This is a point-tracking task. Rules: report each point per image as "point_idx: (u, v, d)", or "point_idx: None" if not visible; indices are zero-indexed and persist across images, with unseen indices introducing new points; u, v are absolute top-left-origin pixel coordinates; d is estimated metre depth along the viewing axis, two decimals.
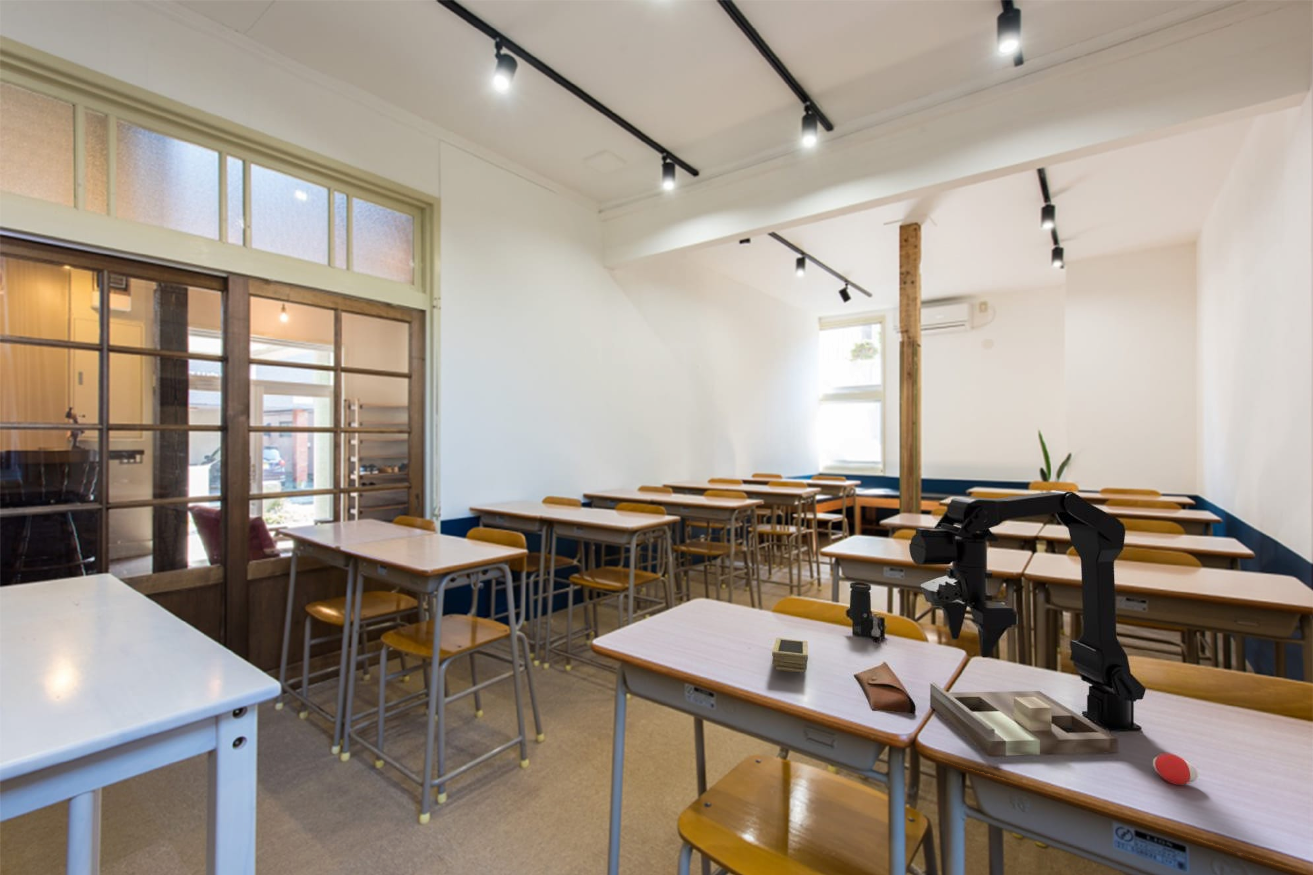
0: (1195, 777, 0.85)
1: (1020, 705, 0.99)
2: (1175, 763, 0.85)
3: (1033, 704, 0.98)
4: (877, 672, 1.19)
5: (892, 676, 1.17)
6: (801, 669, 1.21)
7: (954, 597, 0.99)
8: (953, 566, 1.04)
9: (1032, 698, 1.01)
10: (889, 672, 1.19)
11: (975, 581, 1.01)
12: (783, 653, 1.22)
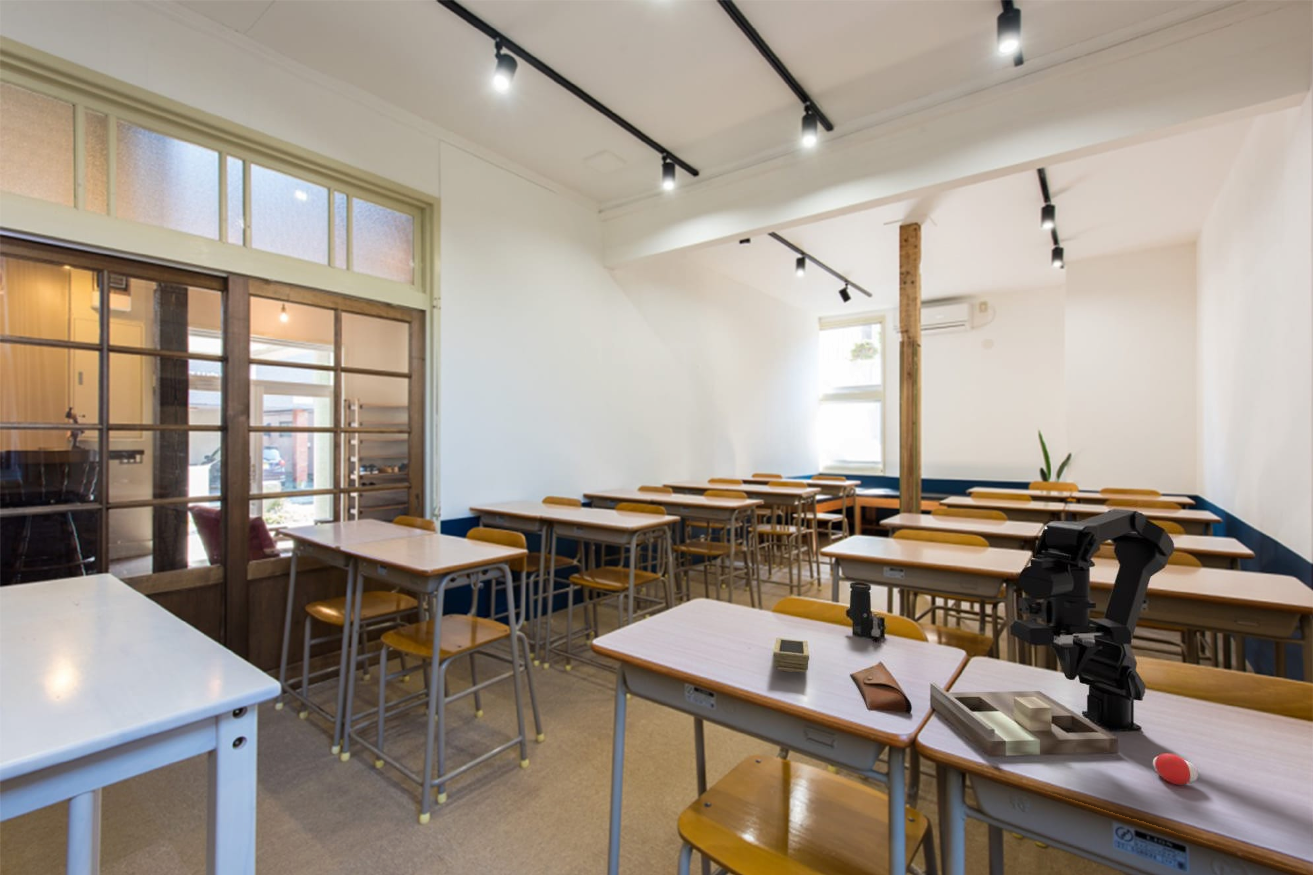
0: (1195, 777, 0.85)
1: (1020, 705, 0.99)
2: (1175, 763, 0.85)
3: (1033, 704, 0.98)
4: (873, 672, 1.19)
5: (888, 675, 1.17)
6: (802, 669, 1.21)
7: (1025, 611, 1.05)
8: None
9: (1032, 698, 1.01)
10: (885, 672, 1.19)
11: (1052, 605, 1.00)
12: (784, 653, 1.22)
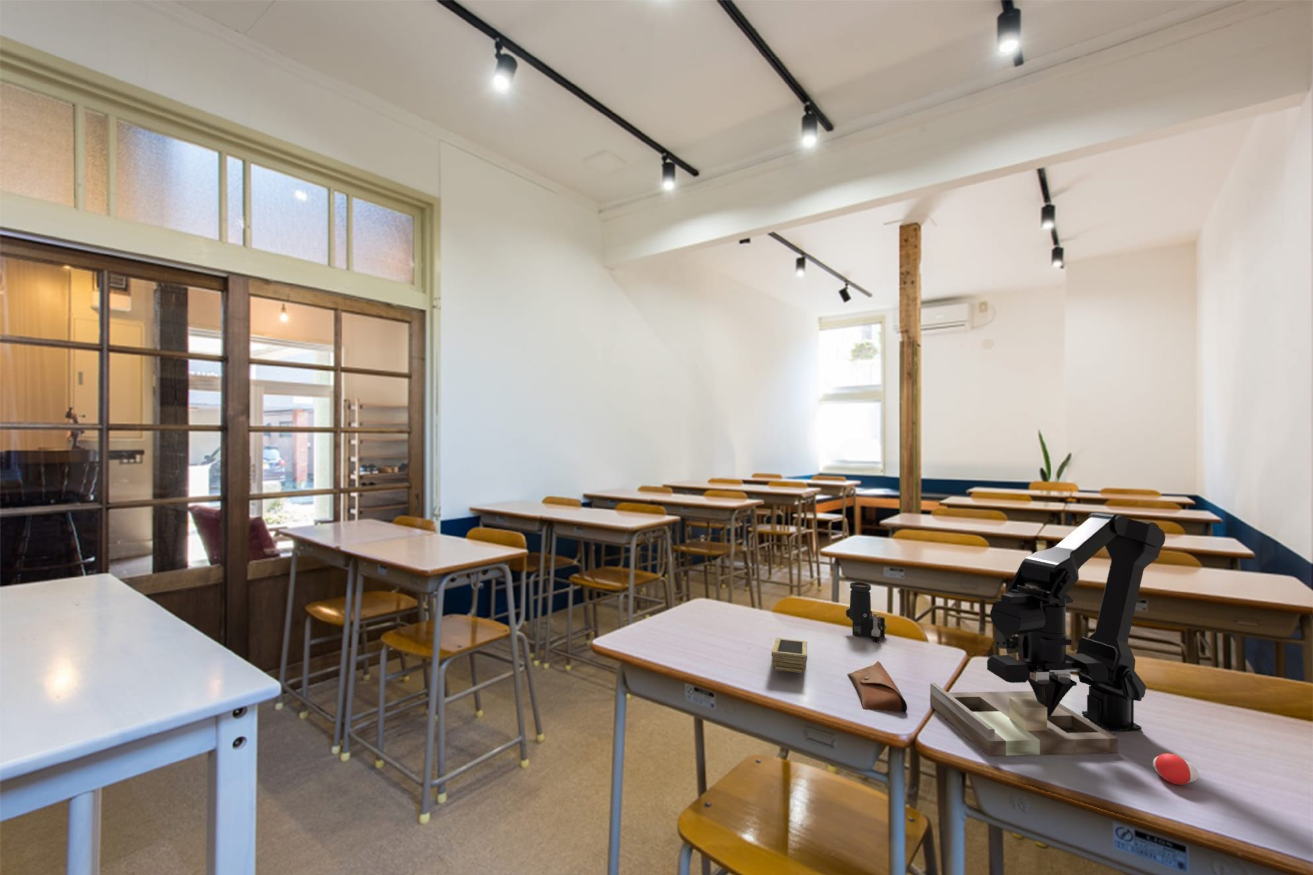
0: (1195, 777, 0.85)
1: (1016, 705, 0.99)
2: (1175, 763, 0.85)
3: (1029, 704, 0.98)
4: (870, 671, 1.20)
5: (885, 675, 1.17)
6: (800, 669, 1.21)
7: (1002, 645, 1.04)
8: None
9: (1028, 698, 1.01)
10: (882, 671, 1.19)
11: (1029, 641, 1.00)
12: (782, 653, 1.22)
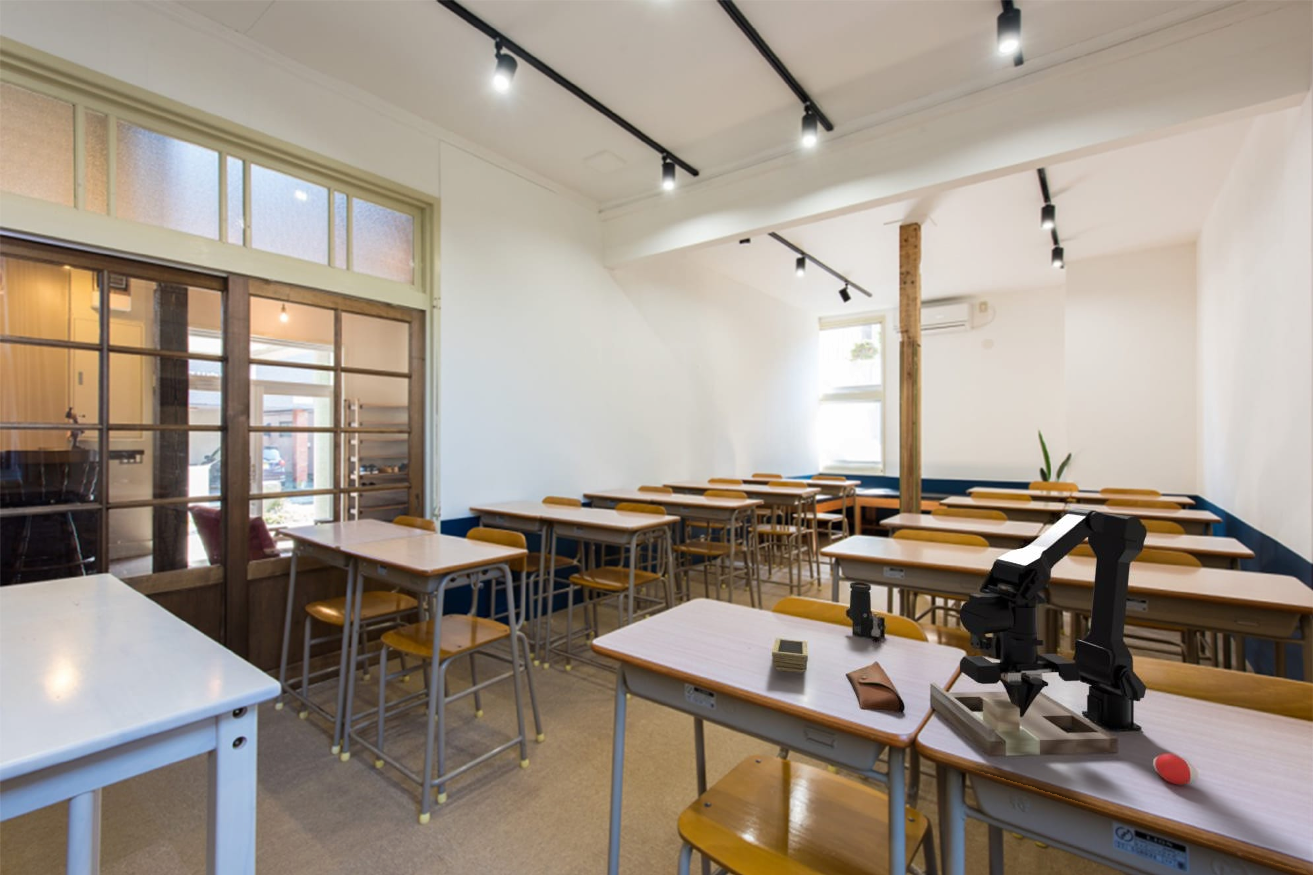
0: (1195, 777, 0.85)
1: (989, 706, 0.99)
2: (1175, 763, 0.85)
3: (1002, 704, 0.98)
4: (868, 671, 1.20)
5: (882, 675, 1.17)
6: (801, 669, 1.21)
7: (976, 646, 1.04)
8: None
9: (1001, 699, 1.00)
10: (880, 671, 1.19)
11: (1001, 641, 0.99)
12: (783, 653, 1.22)
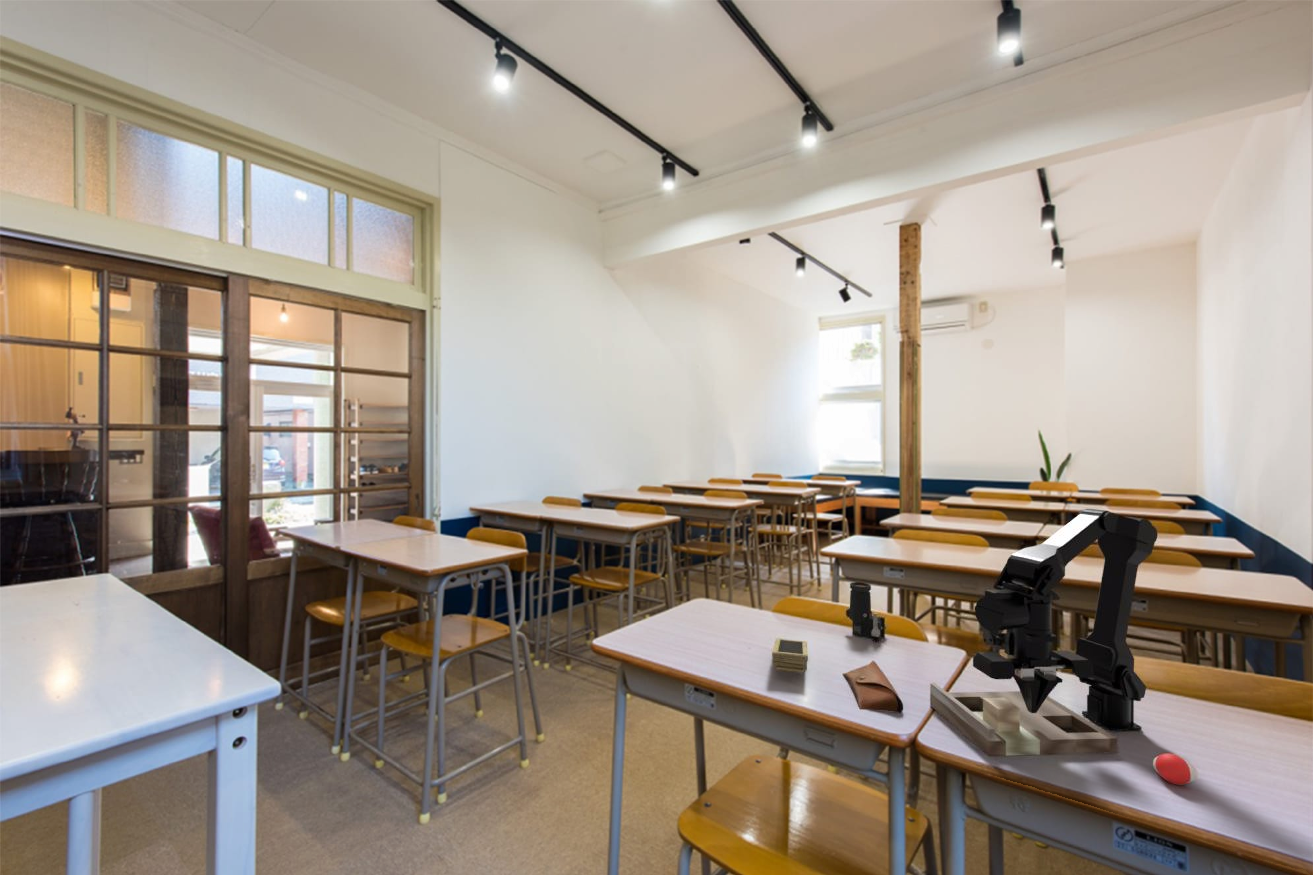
0: (1195, 777, 0.85)
1: (989, 705, 0.99)
2: (1175, 763, 0.85)
3: (1002, 704, 0.98)
4: (865, 671, 1.20)
5: (880, 675, 1.17)
6: (801, 669, 1.21)
7: (989, 642, 1.04)
8: None
9: (1001, 699, 1.00)
10: (877, 671, 1.19)
11: (1014, 638, 1.00)
12: (783, 653, 1.22)
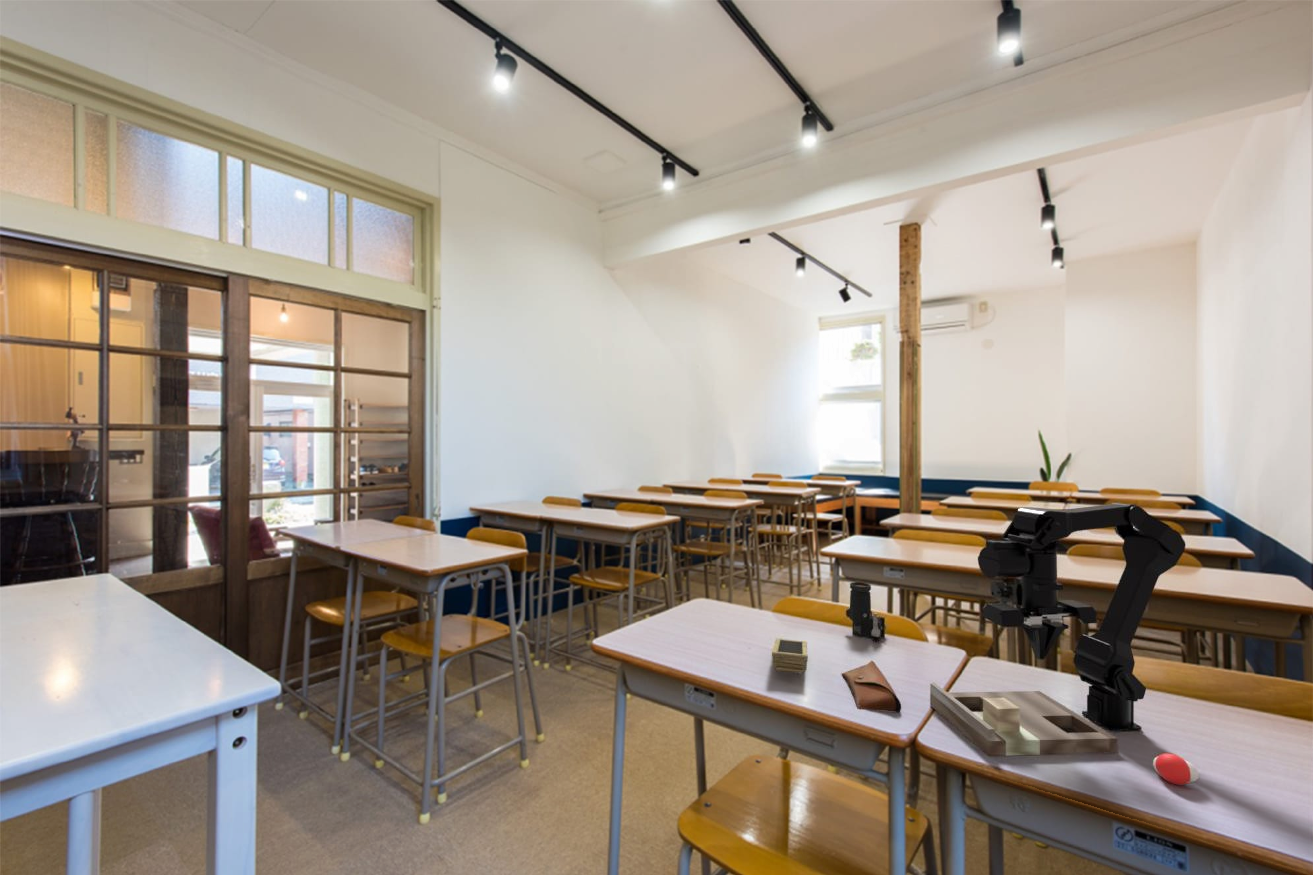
0: (1195, 777, 0.85)
1: (989, 705, 0.99)
2: (1175, 763, 0.85)
3: (1002, 704, 0.98)
4: (864, 671, 1.20)
5: (879, 675, 1.17)
6: (801, 670, 1.21)
7: (997, 594, 1.08)
8: None
9: (1001, 699, 1.00)
10: (876, 671, 1.19)
11: (1022, 588, 1.04)
12: (783, 654, 1.22)
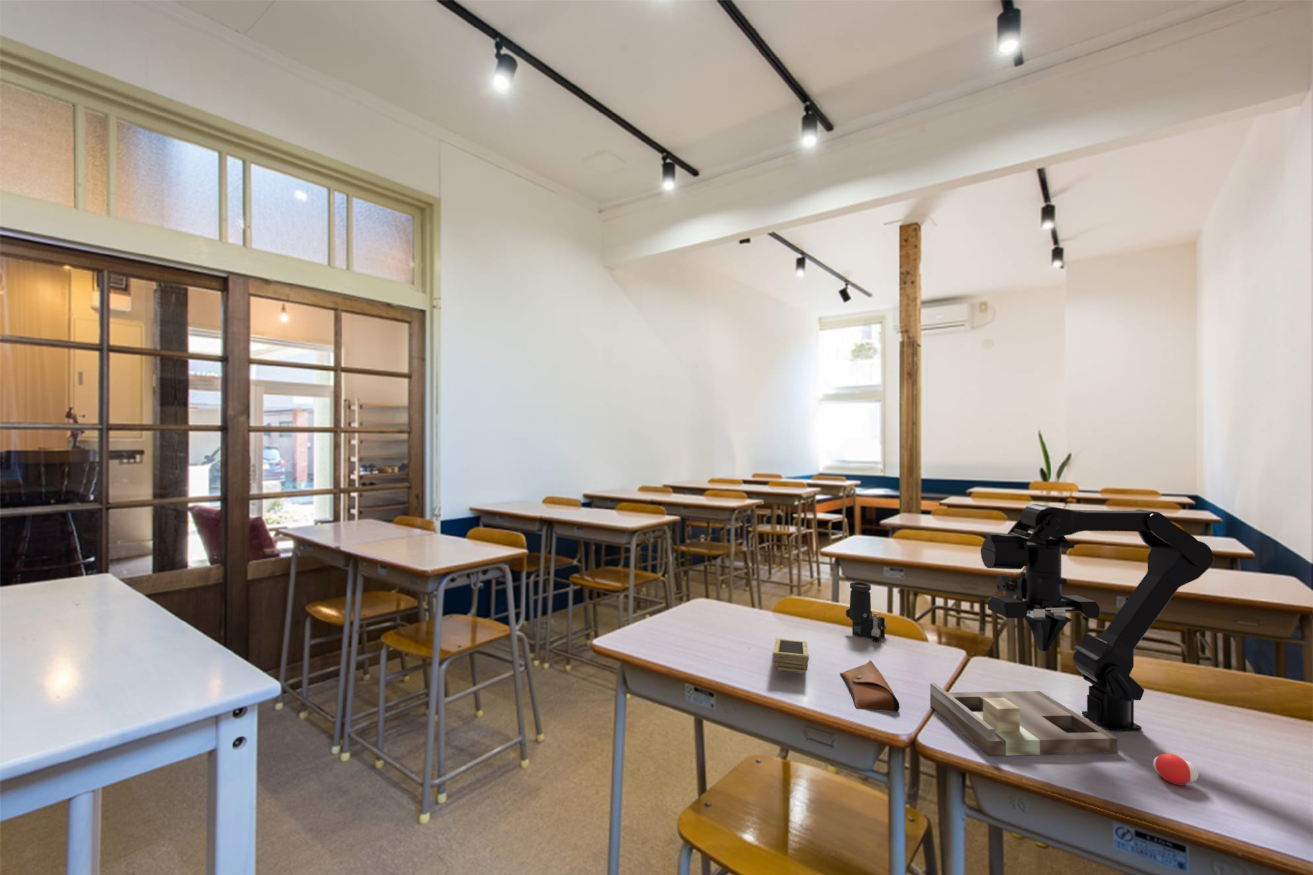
0: (1195, 777, 0.85)
1: (989, 705, 0.99)
2: (1175, 763, 0.85)
3: (1002, 704, 0.98)
4: (862, 671, 1.20)
5: (877, 674, 1.17)
6: (802, 670, 1.21)
7: (1002, 588, 1.12)
8: None
9: (1001, 699, 1.00)
10: (874, 670, 1.19)
11: (1027, 582, 1.07)
12: (784, 654, 1.22)
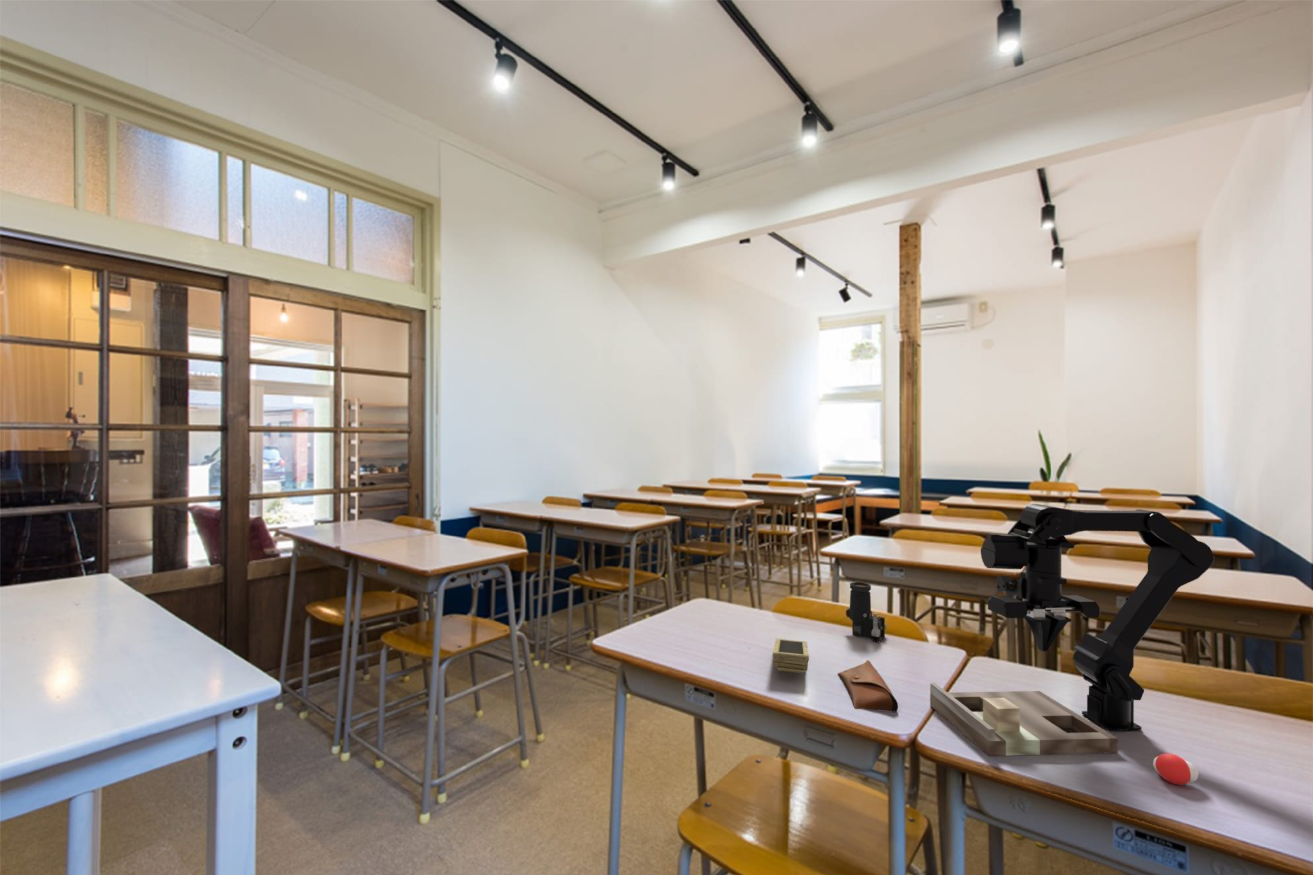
0: (1195, 777, 0.85)
1: (989, 705, 0.99)
2: (1175, 763, 0.85)
3: (1002, 704, 0.98)
4: (860, 670, 1.20)
5: (875, 674, 1.18)
6: (802, 670, 1.21)
7: (1002, 588, 1.12)
8: None
9: (1001, 699, 1.00)
10: (872, 670, 1.20)
11: (1027, 582, 1.07)
12: (784, 654, 1.22)
